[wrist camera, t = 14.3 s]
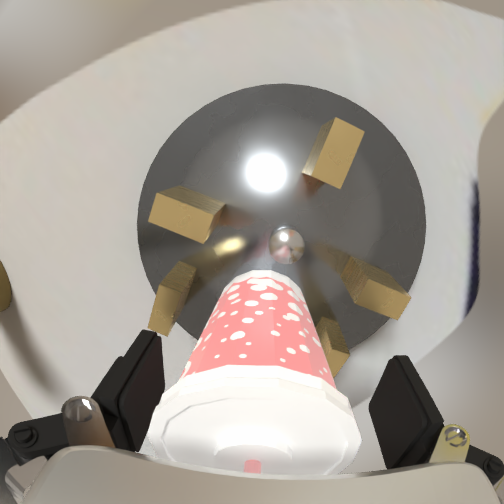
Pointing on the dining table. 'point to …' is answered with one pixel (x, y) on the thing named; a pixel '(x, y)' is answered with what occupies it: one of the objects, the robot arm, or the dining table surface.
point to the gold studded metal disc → (283, 212)
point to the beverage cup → (257, 390)
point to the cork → (4, 289)
